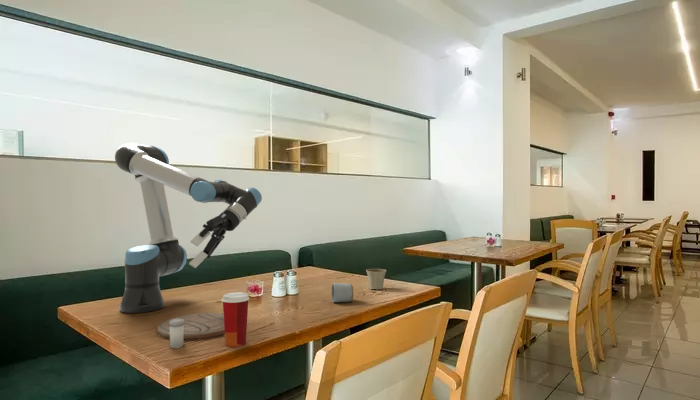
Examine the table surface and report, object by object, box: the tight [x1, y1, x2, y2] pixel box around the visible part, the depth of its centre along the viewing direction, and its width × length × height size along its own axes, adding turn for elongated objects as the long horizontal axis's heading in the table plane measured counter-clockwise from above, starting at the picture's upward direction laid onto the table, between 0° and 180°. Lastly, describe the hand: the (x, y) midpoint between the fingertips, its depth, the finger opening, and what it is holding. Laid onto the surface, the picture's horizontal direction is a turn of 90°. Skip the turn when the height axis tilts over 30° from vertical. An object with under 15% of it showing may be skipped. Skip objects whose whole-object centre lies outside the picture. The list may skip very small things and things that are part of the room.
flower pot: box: [365, 268, 387, 290], centre depth 197 cm, size 9×9×9 cm
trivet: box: [157, 312, 225, 341], centre depth 138 cm, size 25×25×2 cm
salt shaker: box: [169, 319, 185, 349], centre depth 120 cm, size 4×4×7 cm
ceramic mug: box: [331, 282, 354, 303], centre depth 174 cm, size 11×8×8 cm
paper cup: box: [220, 291, 250, 348], centre depth 122 cm, size 8×8×14 cm
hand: (193, 255), depth 145 cm, fingers open, 13 cm apart
